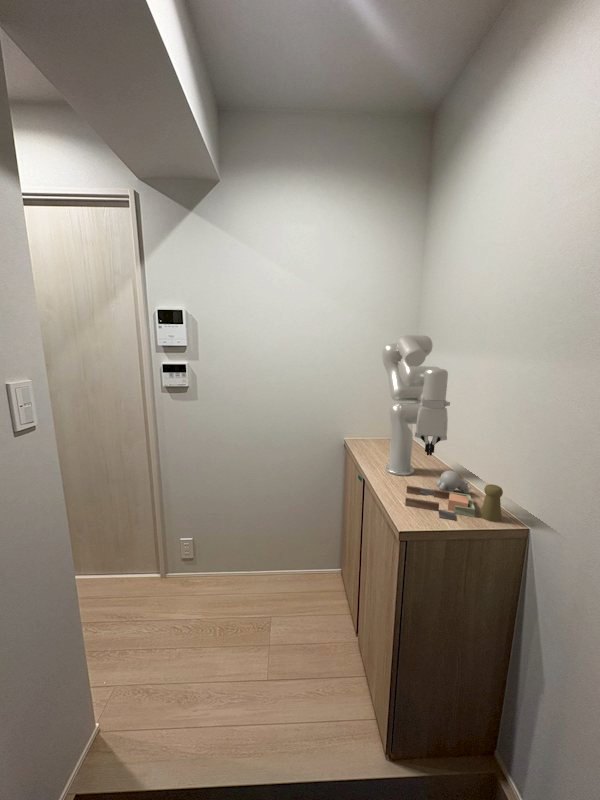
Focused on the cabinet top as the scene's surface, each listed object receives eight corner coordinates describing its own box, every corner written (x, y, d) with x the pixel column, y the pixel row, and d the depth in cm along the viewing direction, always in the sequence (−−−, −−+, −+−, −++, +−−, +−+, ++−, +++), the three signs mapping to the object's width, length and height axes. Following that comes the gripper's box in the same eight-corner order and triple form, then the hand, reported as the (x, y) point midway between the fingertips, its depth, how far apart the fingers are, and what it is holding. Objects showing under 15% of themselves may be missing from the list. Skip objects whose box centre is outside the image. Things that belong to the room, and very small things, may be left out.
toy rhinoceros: (467, 504, 122) (479, 485, 121) (437, 490, 123) (448, 471, 122) (461, 495, 130) (472, 477, 128) (433, 482, 130) (443, 464, 129)
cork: (476, 513, 110) (479, 482, 109) (493, 512, 111) (496, 482, 109) (487, 522, 104) (491, 490, 103) (505, 521, 105) (509, 489, 103)
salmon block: (448, 503, 117) (449, 493, 117) (467, 507, 115) (468, 496, 114) (447, 510, 112) (448, 499, 112) (467, 514, 109) (468, 503, 109)
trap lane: (407, 486, 131) (407, 480, 131) (467, 495, 124) (468, 489, 123) (404, 511, 110) (404, 504, 110) (476, 524, 103) (477, 516, 103)
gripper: (455, 403, 114) (451, 453, 117) (411, 400, 119) (407, 448, 122) (458, 407, 107) (452, 460, 110) (410, 404, 112) (406, 454, 115)
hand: (429, 454), depth 116 cm, fingers closed
